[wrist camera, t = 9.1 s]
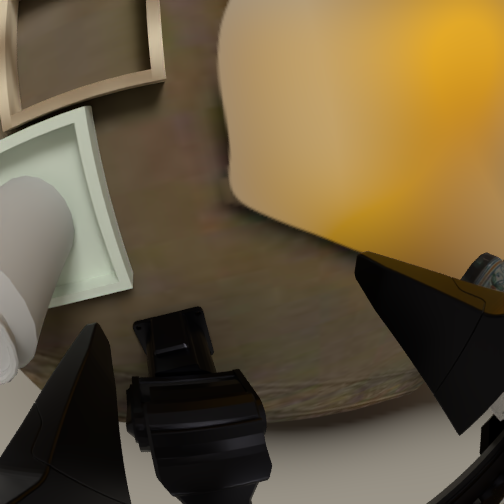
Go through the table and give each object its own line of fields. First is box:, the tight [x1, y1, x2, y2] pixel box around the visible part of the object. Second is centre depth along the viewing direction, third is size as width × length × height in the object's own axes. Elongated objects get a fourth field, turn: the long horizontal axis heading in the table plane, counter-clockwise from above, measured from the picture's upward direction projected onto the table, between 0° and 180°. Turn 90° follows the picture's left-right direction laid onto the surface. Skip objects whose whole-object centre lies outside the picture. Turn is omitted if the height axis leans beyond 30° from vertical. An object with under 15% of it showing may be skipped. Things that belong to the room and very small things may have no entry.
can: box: [0, 175, 74, 384], centre depth 11 cm, size 8×8×12 cm
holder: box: [0, 0, 166, 132], centre depth 11 cm, size 11×11×2 cm
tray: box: [0, 106, 133, 308], centre depth 16 cm, size 13×13×2 cm
